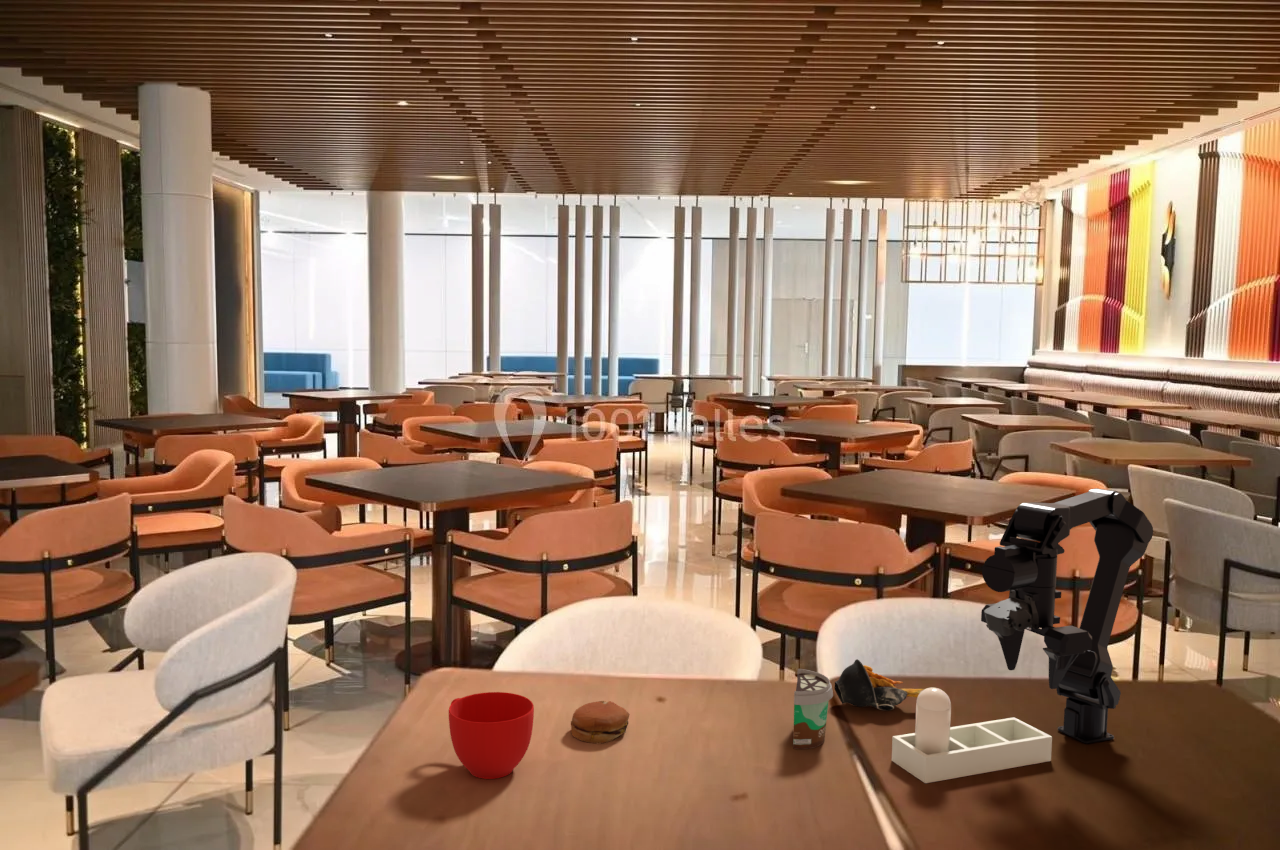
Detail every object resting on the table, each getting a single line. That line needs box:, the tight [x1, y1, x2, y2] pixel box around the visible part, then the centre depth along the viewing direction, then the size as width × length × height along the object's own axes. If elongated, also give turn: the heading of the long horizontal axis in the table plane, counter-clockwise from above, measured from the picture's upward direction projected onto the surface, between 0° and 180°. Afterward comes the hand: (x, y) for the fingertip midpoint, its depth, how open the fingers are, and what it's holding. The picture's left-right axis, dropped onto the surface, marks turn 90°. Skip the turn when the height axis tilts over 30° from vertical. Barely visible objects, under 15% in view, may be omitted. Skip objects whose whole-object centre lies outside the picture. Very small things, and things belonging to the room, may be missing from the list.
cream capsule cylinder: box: [914, 686, 952, 755], centre depth 157 cm, size 5×5×12 cm
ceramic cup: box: [448, 691, 535, 780], centre depth 156 cm, size 13×17×10 cm
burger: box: [570, 700, 630, 744], centre depth 170 cm, size 10×9×5 cm
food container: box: [792, 668, 834, 750], centre depth 168 cm, size 12×6×10 cm, turn 168°
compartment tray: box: [891, 717, 1053, 784], centre depth 161 cm, size 24×9×4 cm, turn 111°
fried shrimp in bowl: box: [834, 659, 925, 711], centre depth 184 cm, size 9×11×18 cm
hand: (1031, 679), depth 161 cm, fingers open, 9 cm apart
